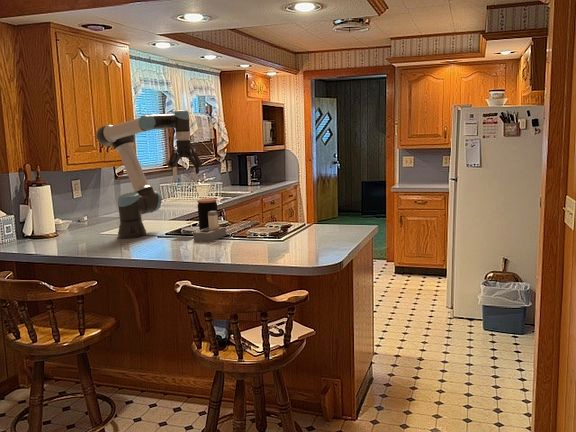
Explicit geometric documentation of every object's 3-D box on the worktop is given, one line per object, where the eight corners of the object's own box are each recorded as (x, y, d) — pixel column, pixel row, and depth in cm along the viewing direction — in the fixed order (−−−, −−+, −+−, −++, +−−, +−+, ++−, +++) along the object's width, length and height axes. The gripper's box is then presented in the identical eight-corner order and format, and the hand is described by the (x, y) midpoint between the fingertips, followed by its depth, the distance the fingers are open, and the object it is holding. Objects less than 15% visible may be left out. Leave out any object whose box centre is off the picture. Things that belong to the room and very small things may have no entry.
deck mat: (171, 241, 291) (171, 240, 290) (182, 237, 300) (182, 236, 299) (187, 242, 286) (187, 241, 286) (198, 238, 295) (198, 237, 295)
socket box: (193, 242, 287) (193, 232, 286) (210, 235, 301) (209, 226, 300) (210, 243, 282) (209, 233, 282) (226, 236, 297) (225, 226, 296)
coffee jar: (215, 233, 305) (213, 201, 302) (196, 233, 307) (194, 201, 304) (221, 229, 315) (219, 198, 312) (203, 229, 317) (201, 198, 314)
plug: (209, 236, 294) (207, 211, 292) (213, 234, 297) (211, 210, 295) (215, 236, 293) (213, 212, 290) (218, 235, 296) (217, 210, 294)
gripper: (159, 140, 298) (162, 179, 303) (199, 140, 288) (201, 180, 292) (168, 139, 305) (170, 177, 309) (207, 139, 295) (209, 179, 299)
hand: (185, 179), depth 301 cm, fingers open, 13 cm apart
